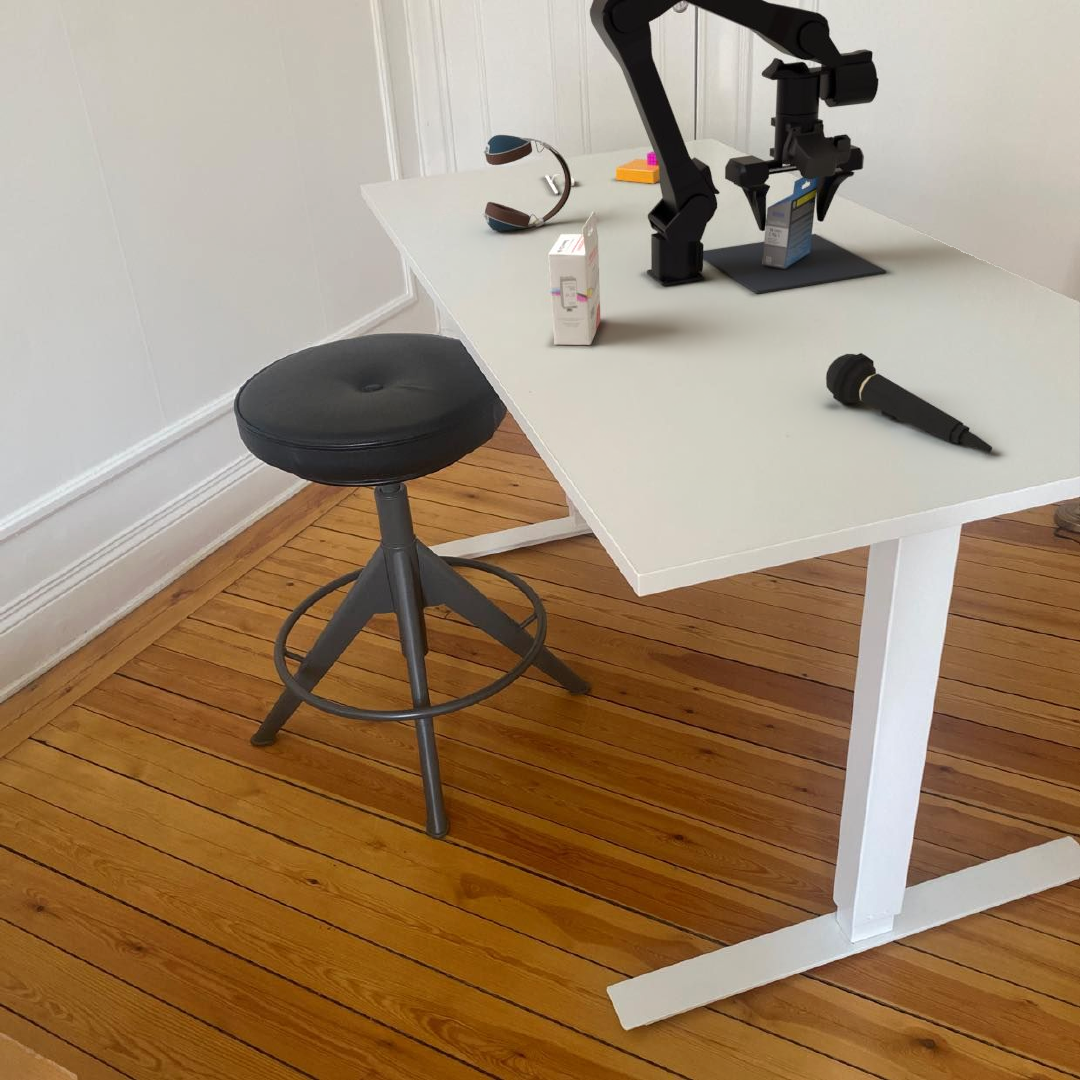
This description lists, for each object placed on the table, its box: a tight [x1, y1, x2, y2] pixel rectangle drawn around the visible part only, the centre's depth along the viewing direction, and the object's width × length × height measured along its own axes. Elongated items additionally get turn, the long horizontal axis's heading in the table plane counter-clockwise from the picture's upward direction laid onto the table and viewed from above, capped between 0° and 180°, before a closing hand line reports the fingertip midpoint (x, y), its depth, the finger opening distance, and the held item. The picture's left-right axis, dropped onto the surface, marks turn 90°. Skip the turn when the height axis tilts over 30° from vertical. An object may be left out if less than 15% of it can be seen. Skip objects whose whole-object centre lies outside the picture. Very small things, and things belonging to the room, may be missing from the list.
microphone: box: [825, 352, 993, 454], centre depth 115 cm, size 6×6×20 cm
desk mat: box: [703, 233, 887, 295], centre depth 162 cm, size 20×20×1 cm
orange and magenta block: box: [615, 150, 660, 185], centre depth 209 cm, size 8×8×4 cm
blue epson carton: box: [762, 177, 819, 269], centre depth 159 cm, size 9×4×12 cm, turn 145°
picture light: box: [545, 173, 575, 195], centre depth 208 cm, size 14×4×2 cm, turn 8°
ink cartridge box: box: [547, 210, 601, 346], centre depth 139 cm, size 9×5×15 cm, turn 168°
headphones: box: [483, 134, 572, 232], centre depth 181 cm, size 6×15×22 cm
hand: (791, 225), depth 159 cm, fingers closed on blue epson carton, 9 cm apart
